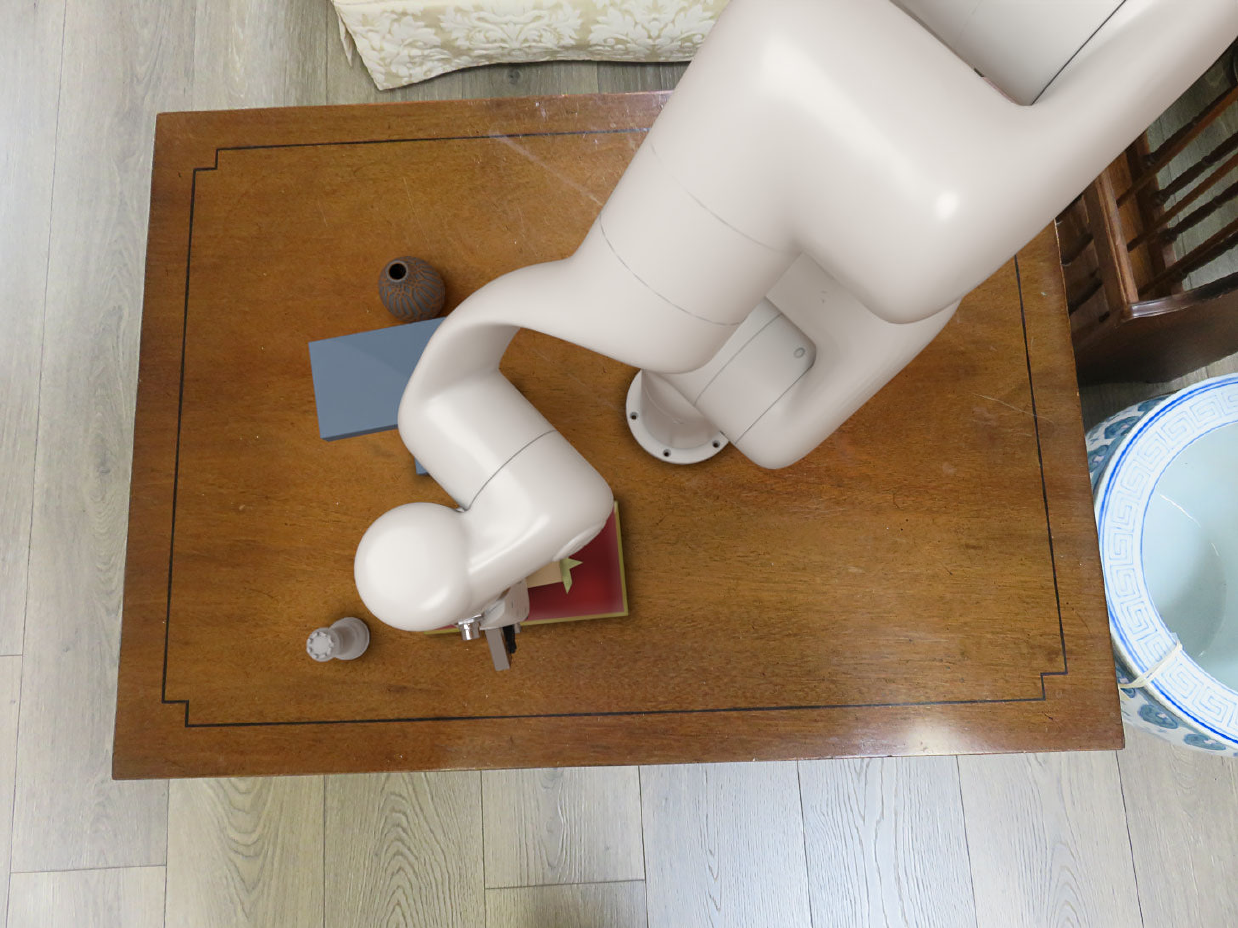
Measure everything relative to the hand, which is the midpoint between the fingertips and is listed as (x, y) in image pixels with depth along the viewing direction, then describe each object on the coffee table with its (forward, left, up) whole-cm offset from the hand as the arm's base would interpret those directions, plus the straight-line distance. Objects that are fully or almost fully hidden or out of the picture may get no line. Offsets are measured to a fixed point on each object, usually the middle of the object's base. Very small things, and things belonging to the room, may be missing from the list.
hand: (503, 567), depth 70 cm
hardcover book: (-1, 0, -10) cm, 10 cm away
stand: (+3, -16, -9) cm, 19 cm away
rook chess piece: (+19, +4, -10) cm, 22 cm away
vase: (+6, -32, -10) cm, 34 cm away
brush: (0, 0, -5) cm, 5 cm away
